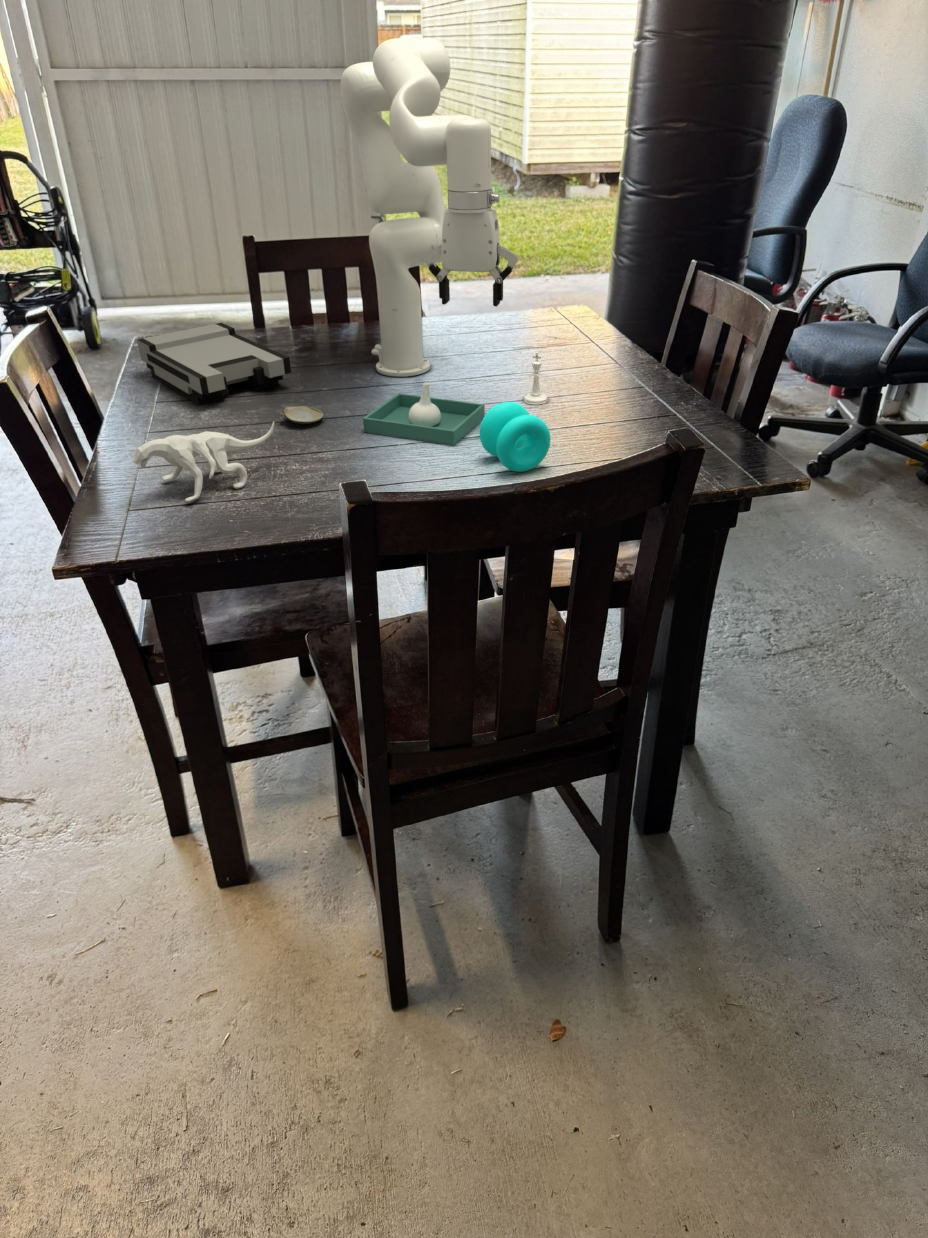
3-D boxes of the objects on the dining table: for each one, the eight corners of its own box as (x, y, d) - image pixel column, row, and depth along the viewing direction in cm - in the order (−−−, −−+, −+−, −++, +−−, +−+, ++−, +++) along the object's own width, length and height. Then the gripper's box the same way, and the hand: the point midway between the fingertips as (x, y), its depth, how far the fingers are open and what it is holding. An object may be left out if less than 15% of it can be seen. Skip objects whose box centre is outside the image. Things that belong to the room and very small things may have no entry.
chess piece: (545, 405, 174) (547, 356, 168) (522, 403, 175) (523, 355, 169) (548, 397, 178) (550, 349, 172) (525, 395, 179) (526, 348, 173)
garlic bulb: (408, 418, 168) (406, 378, 164) (439, 416, 169) (438, 377, 164) (410, 430, 163) (407, 389, 158) (442, 428, 163) (441, 387, 159)
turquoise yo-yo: (500, 479, 144) (501, 423, 139) (476, 458, 152) (476, 404, 146) (552, 468, 148) (554, 413, 142) (526, 448, 155) (527, 395, 150)
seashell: (313, 438, 166) (330, 415, 171) (312, 425, 164) (329, 402, 169) (275, 427, 167) (293, 405, 172) (273, 414, 165) (291, 392, 170)
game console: (205, 411, 174) (197, 372, 170) (145, 375, 195) (136, 339, 190) (293, 389, 185) (288, 351, 180) (227, 356, 206) (221, 322, 201)
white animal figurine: (131, 490, 143) (116, 434, 138) (266, 454, 155) (257, 401, 150) (155, 516, 135) (141, 457, 129) (296, 475, 147) (288, 420, 142)
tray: (363, 431, 163) (362, 418, 162) (399, 406, 175) (398, 393, 173) (454, 445, 157) (453, 431, 155) (484, 417, 169) (484, 404, 167)
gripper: (522, 198, 147) (520, 300, 157) (427, 197, 151) (431, 297, 160) (514, 204, 141) (513, 310, 151) (415, 203, 145) (420, 306, 154)
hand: (471, 303), depth 155 cm, fingers open, 9 cm apart
